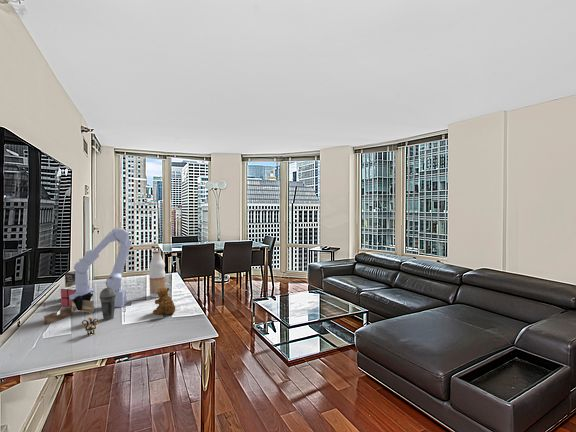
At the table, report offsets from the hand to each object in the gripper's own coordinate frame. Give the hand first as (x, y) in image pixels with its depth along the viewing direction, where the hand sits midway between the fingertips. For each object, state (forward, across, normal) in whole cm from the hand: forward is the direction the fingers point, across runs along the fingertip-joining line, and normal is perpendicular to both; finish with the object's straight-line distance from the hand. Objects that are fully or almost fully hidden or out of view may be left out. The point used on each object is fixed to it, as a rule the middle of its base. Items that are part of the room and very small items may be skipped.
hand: (83, 308), depth 176 cm
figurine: (+2, +26, +28) cm, 38 cm away
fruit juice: (+2, -34, +23) cm, 41 cm away
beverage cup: (+2, +7, +22) cm, 23 cm away
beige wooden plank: (+2, 0, 0) cm, 2 cm away
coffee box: (+2, -21, -26) cm, 34 cm away
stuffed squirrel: (+2, -6, +46) cm, 46 cm away
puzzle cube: (+2, -11, -16) cm, 20 cm away
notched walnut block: (+2, +12, -3) cm, 12 cm away
